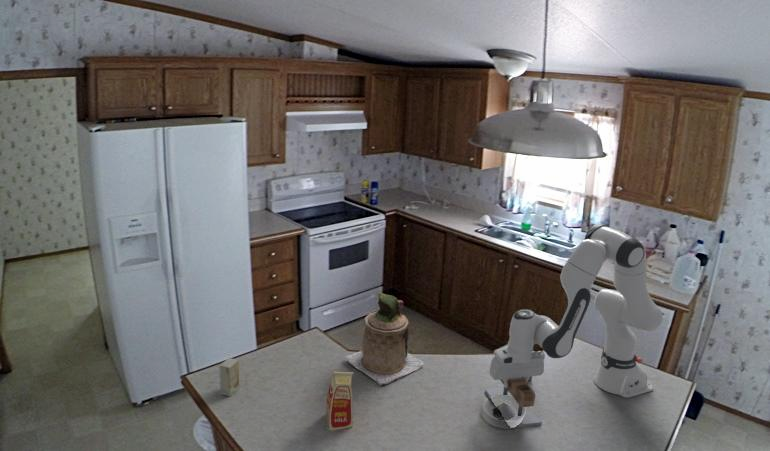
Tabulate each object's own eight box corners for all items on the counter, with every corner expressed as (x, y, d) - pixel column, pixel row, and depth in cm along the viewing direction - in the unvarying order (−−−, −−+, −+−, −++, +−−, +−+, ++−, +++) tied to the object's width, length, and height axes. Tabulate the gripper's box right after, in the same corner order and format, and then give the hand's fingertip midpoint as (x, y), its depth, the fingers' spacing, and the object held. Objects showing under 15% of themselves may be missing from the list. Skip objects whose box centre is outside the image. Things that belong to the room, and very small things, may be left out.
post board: (513, 388, 213) (515, 372, 211) (541, 424, 192) (543, 407, 190) (485, 391, 210) (486, 375, 208) (510, 428, 190) (512, 411, 187)
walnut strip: (496, 375, 208) (498, 364, 206) (508, 374, 209) (510, 363, 207) (520, 407, 189) (522, 395, 188) (533, 405, 190) (535, 393, 189)
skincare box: (230, 397, 200) (228, 368, 196) (220, 394, 201) (218, 365, 197) (240, 387, 206) (239, 359, 202) (230, 385, 207) (229, 357, 203)
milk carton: (329, 430, 184) (330, 380, 178) (324, 414, 193) (325, 365, 187) (355, 426, 187) (357, 376, 181) (349, 410, 195) (351, 362, 189)
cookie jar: (382, 388, 209) (386, 314, 200) (342, 361, 226) (344, 291, 217) (425, 366, 226) (431, 296, 216) (385, 343, 243) (389, 277, 233)
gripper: (541, 346, 200) (536, 378, 204) (489, 351, 195) (486, 384, 199) (549, 355, 194) (544, 388, 198) (497, 360, 189) (493, 394, 193)
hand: (514, 386), depth 198 cm, fingers closed on walnut strip, 5 cm apart
